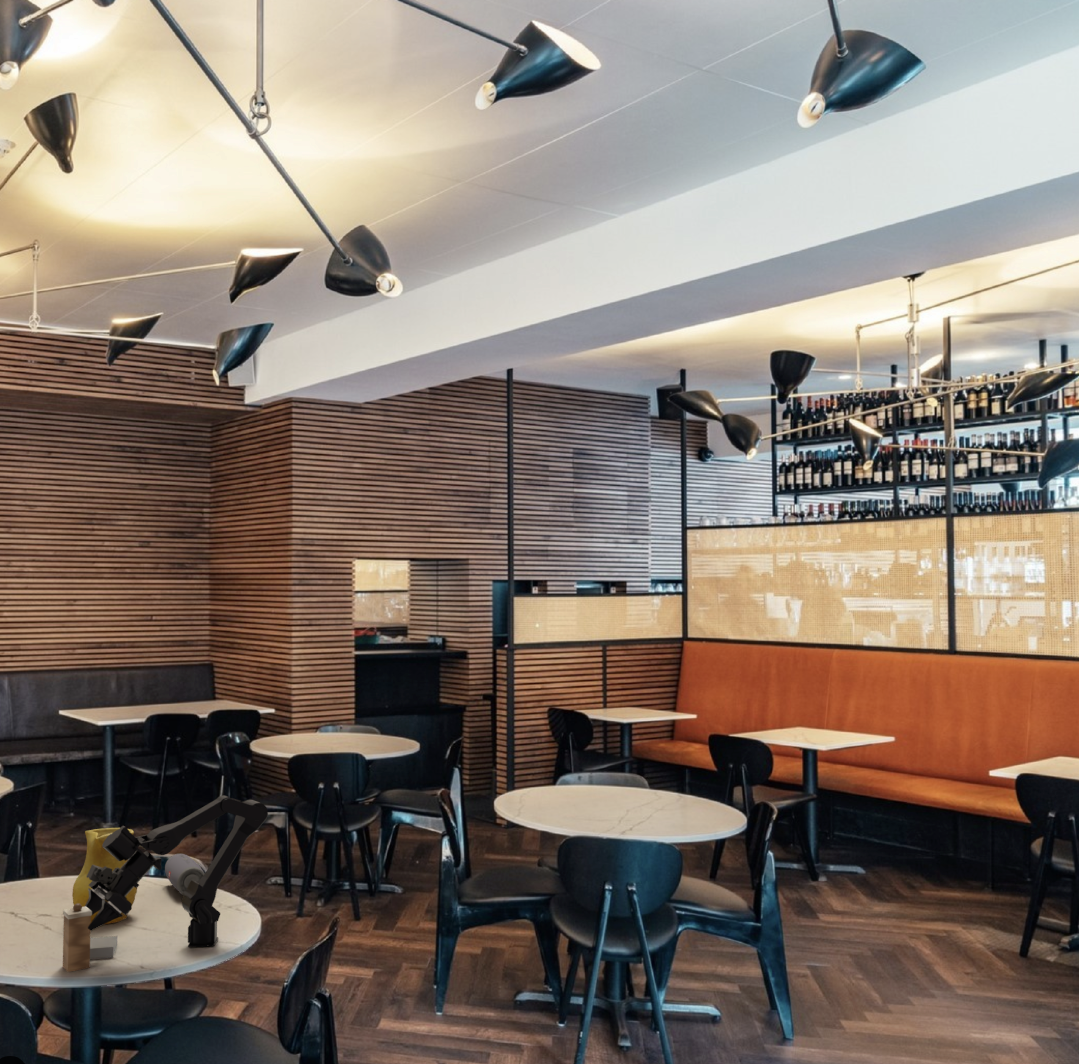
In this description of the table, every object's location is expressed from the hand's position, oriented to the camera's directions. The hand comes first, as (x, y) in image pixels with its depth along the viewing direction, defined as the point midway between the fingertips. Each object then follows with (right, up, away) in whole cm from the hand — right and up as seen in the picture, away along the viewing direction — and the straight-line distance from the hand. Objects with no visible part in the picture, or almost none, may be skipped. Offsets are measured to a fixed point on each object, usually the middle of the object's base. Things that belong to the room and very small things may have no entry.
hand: (84, 924), depth 269 cm
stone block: (-1, -11, +9) cm, 14 cm away
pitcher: (-10, -13, +41) cm, 44 cm away
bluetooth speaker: (+2, -15, +69) cm, 71 cm away
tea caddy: (-1, -10, -2) cm, 10 cm away
